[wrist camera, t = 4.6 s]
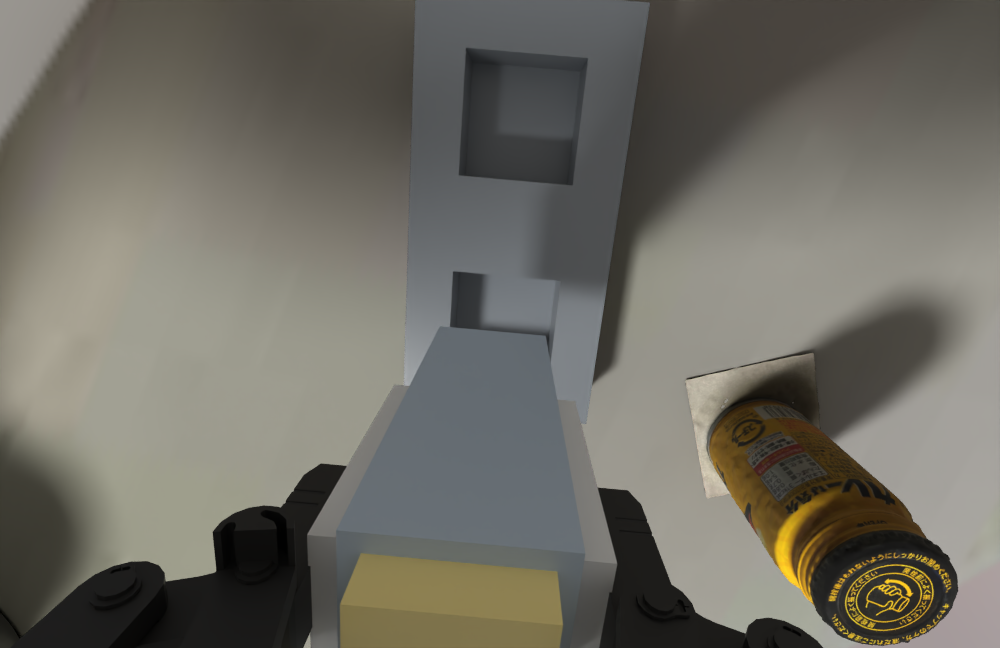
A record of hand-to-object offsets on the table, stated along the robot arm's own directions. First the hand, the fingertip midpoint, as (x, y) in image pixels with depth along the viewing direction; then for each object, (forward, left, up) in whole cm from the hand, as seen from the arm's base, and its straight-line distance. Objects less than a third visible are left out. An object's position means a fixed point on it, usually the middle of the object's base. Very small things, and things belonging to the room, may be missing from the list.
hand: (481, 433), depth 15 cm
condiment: (+16, -6, -15) cm, 23 cm away
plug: (0, 0, -4) cm, 4 cm away
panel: (0, +5, -14) cm, 15 cm away
